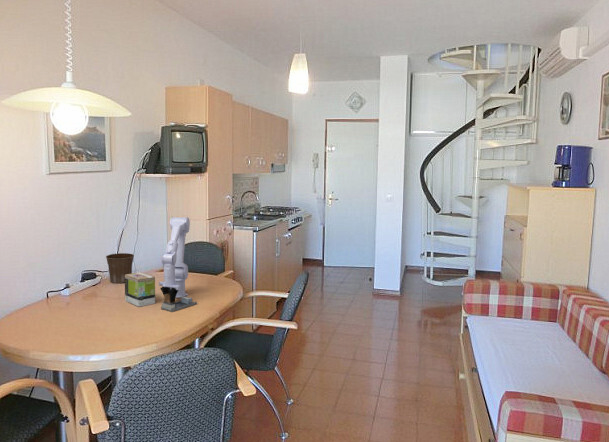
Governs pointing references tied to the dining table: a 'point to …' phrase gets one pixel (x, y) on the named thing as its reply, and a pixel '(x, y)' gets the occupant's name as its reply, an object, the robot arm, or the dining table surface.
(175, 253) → the robot arm
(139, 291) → the tea box
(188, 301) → the block
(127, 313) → the dining table surface
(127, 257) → the plant pot
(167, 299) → the block
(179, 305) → the vise
